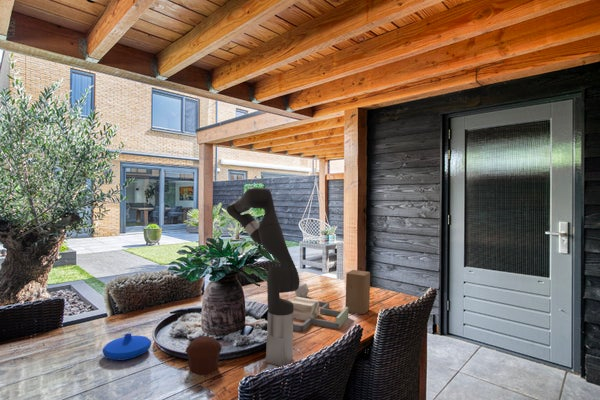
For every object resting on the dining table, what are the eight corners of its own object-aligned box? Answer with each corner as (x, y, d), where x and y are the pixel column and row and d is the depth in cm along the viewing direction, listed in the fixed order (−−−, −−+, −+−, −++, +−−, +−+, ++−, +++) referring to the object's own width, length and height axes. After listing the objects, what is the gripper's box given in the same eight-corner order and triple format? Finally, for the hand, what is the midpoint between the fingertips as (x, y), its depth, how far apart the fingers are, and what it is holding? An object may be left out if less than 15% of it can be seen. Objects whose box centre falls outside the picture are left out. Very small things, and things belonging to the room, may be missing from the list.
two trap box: (331, 337, 139) (331, 325, 139) (275, 326, 149) (275, 315, 149) (353, 311, 172) (353, 301, 172) (306, 303, 183) (306, 294, 183)
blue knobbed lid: (139, 340, 132) (139, 323, 131) (159, 353, 122) (159, 334, 121) (95, 354, 119) (95, 335, 119) (113, 370, 109) (113, 348, 109)
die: (303, 301, 188) (312, 286, 191) (291, 292, 190) (300, 278, 193) (303, 302, 196) (311, 288, 199) (291, 294, 197) (299, 280, 200)
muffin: (225, 361, 117) (226, 332, 117) (216, 378, 106) (216, 346, 106) (192, 359, 118) (192, 331, 118) (179, 376, 107) (180, 345, 106)
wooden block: (344, 311, 171) (346, 273, 171) (351, 306, 180) (352, 269, 180) (363, 315, 166) (365, 275, 166) (369, 309, 175) (370, 271, 175)
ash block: (310, 321, 156) (311, 306, 156) (288, 317, 162) (288, 302, 162) (318, 315, 165) (319, 300, 165) (297, 311, 171) (297, 296, 171)
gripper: (252, 227, 162) (273, 254, 157) (267, 225, 175) (287, 250, 171) (243, 237, 164) (263, 264, 160) (258, 235, 177) (277, 259, 173)
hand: (275, 257), depth 165 cm, fingers open, 5 cm apart
